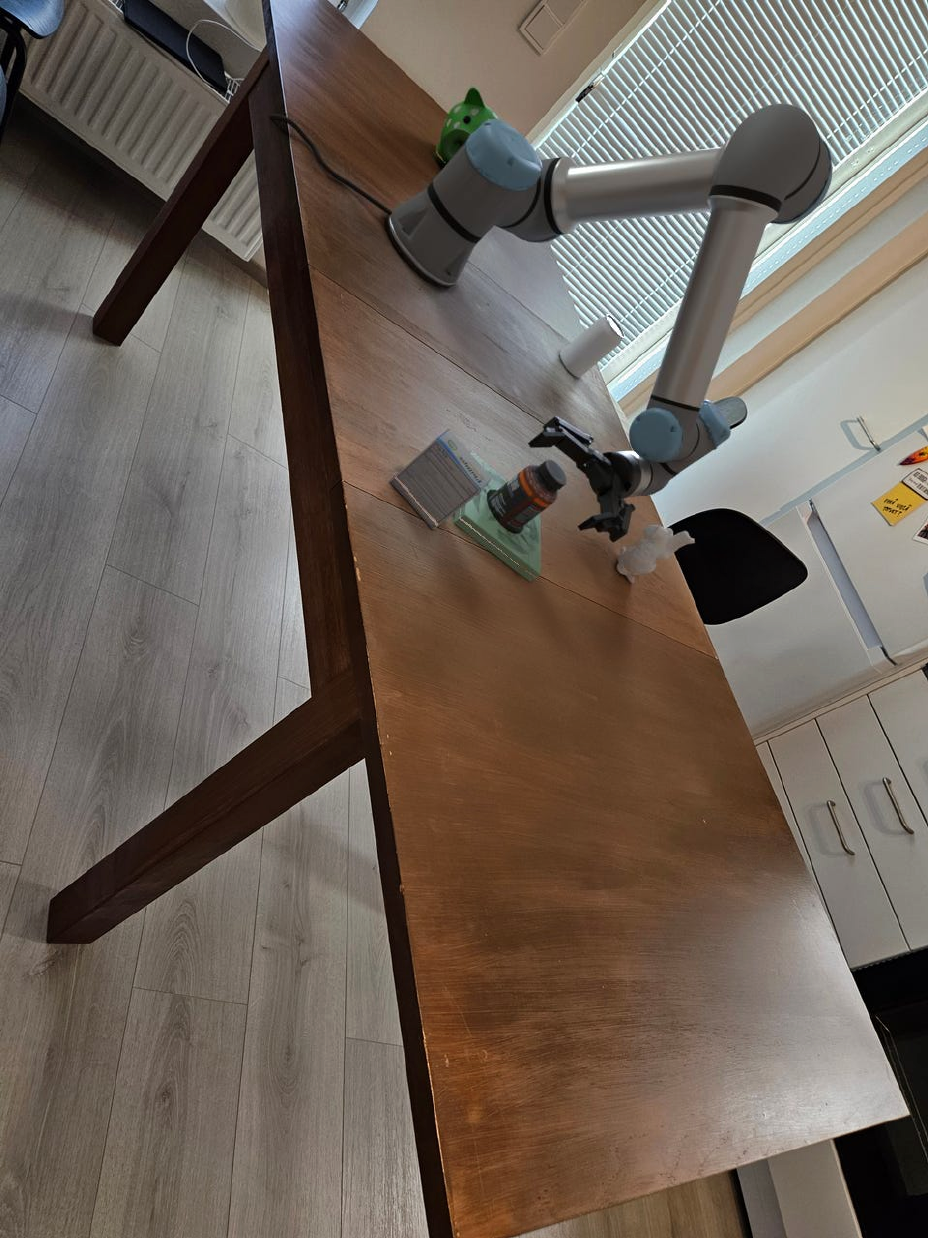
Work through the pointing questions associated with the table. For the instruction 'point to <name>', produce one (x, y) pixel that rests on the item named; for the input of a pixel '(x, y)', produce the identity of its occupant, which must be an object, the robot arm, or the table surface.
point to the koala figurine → (650, 550)
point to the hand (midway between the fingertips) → (560, 481)
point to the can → (592, 345)
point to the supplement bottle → (526, 495)
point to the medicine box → (442, 478)
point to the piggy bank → (462, 124)
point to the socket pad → (502, 530)
